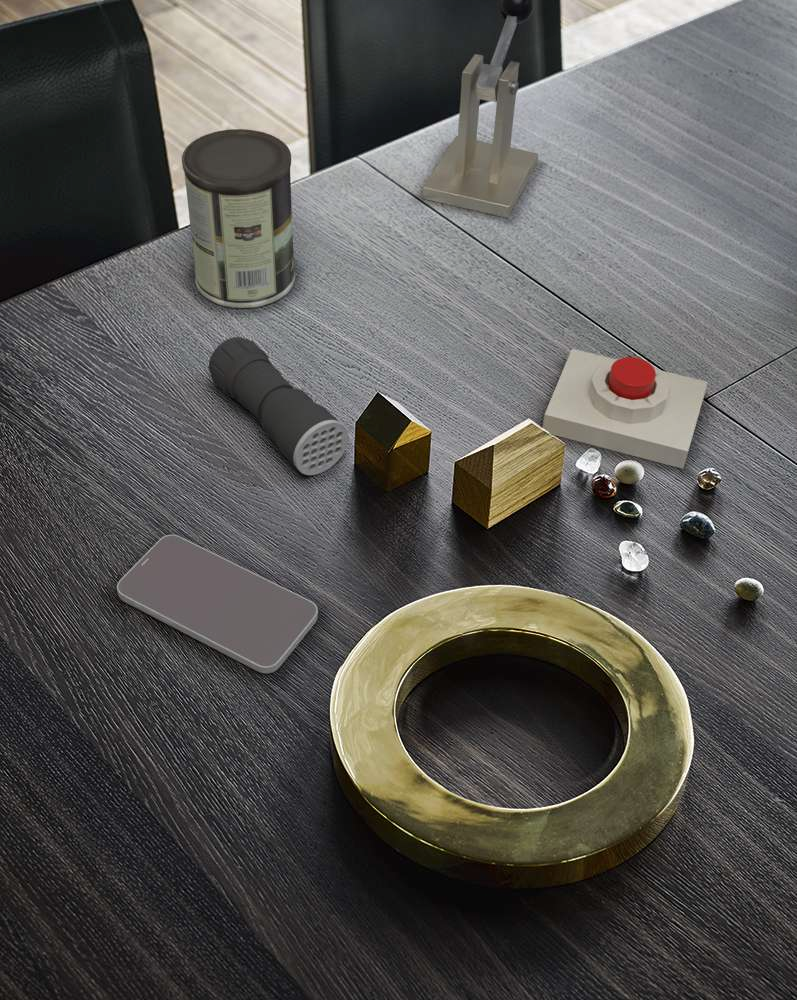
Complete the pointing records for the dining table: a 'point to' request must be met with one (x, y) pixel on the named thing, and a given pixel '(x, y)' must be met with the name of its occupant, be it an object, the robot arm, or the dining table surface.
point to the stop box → (625, 411)
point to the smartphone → (218, 603)
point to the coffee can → (240, 217)
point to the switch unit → (483, 153)
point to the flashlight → (279, 406)
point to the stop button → (631, 378)
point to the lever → (502, 47)
